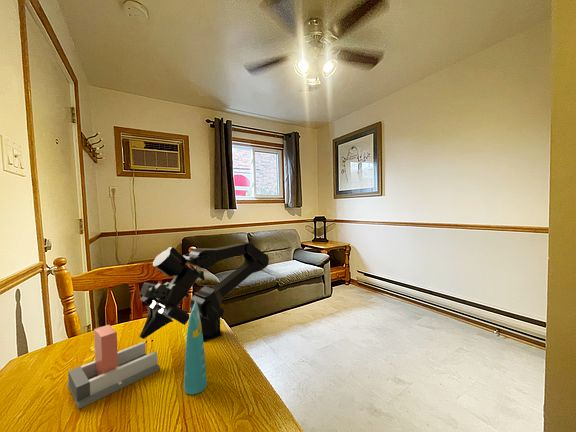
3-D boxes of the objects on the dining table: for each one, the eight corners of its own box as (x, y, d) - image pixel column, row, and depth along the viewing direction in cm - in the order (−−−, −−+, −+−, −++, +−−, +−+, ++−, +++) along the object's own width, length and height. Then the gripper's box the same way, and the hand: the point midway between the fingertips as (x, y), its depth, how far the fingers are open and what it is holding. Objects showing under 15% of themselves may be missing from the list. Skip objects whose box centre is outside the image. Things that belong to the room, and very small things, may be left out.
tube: (207, 395, 54) (205, 308, 53) (183, 401, 52) (180, 312, 52) (206, 374, 61) (204, 297, 60) (185, 379, 59) (182, 300, 59)
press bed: (142, 354, 70) (142, 339, 70) (159, 369, 63) (158, 353, 63) (67, 385, 58) (67, 368, 58) (78, 409, 51) (77, 389, 51)
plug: (110, 367, 62) (109, 324, 62) (118, 377, 58) (116, 331, 58) (95, 374, 60) (94, 329, 59) (102, 384, 56) (101, 337, 56)
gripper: (146, 265, 74) (103, 315, 66) (175, 275, 62) (128, 337, 54) (173, 284, 81) (137, 331, 72) (205, 297, 69) (166, 355, 61)
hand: (141, 337), depth 65 cm, fingers closed
